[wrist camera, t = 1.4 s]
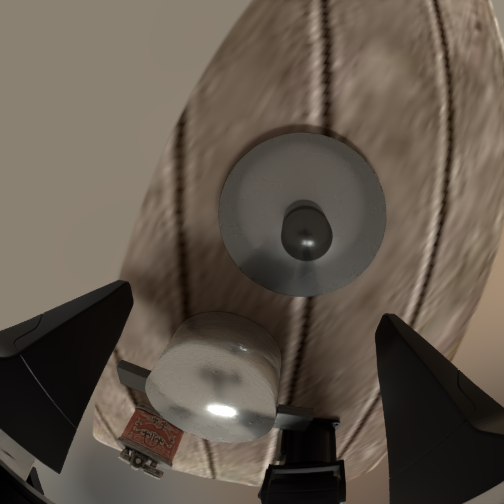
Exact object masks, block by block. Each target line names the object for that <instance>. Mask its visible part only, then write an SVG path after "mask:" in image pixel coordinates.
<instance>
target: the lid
mask: <svg viewBox="0 0 504 504" xmlns="http://www.w3.org/2000/svg"><path fill="white" fill-rule="evenodd" d="M219 225H220V230H221V235H222V238H223V241H224V244H225V246H226V249H227V251H228V253H229V255H230V256H231V258H232V259H233V261H234V262H235V264H236V265H237V266H238V267H239V268H240V269H241V271H242V272H243V273H245V274H246V275H247V276H248V277H249V278H250V279H252V280H253V281H254V282H256V283H257V284H259V285H261V286H263V287H264V288H266V289H269V290H271V291H274V292H276V293H280V294H284V295H289V296H296V297H309V296H317V295H322V294H326V293H329V292H332V291H335V290H337V289H339V288H341V287H343V286H345V285H347V284H348V283H350V282H351V281H353V280H354V279H355V278H357V277H358V276H359V275H360V274H361V273H362V272H363V271H364V270H365V269H366V268H367V267H368V266H369V264H370V263H371V262H372V260H373V259H374V257H375V255H376V253H377V252H378V250H379V248H380V245H381V242H382V240H383V236H384V232H385V226H386V204H385V198H384V194H383V191H382V188H381V185H380V183H379V181H378V178H377V176H376V175H375V173H374V172H373V170H372V168H371V167H370V166H369V164H368V163H367V162H366V161H365V160H364V159H363V157H361V156H360V155H359V154H358V153H357V152H356V151H355V150H353V149H352V148H350V147H349V146H347V145H346V144H344V143H342V142H340V141H338V140H336V139H334V138H331V137H328V136H324V135H320V134H314V133H290V134H284V135H280V136H277V137H274V138H271V139H269V140H266V141H264V142H262V143H261V144H259V145H257V146H256V147H254V148H253V149H252V150H250V151H249V152H248V153H246V154H245V155H244V156H243V157H242V158H241V159H240V161H239V162H238V163H237V164H236V165H235V167H234V168H233V170H232V171H231V172H230V174H229V176H228V178H227V180H226V182H225V185H224V188H223V190H222V194H221V198H220V203H219Z"/></svg>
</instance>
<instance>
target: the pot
mask: <svg viewBox="0 0 504 504" xmlns="http://www.w3.org/2000/svg"><path fill="white" fill-rule="evenodd" d="M280 370H281V353H280V350H279V347H278V345H277V343H276V341H275V340H274V339H273V337H272V336H271V335H270V334H269V333H268V332H267V331H266V330H265V329H264V328H262V327H261V326H260V325H258V324H257V323H255V322H253V321H251V320H249V319H247V318H245V317H242V316H239V315H236V314H232V313H227V312H205V313H200V314H196V315H194V316H192V317H190V318H188V319H186V320H185V321H184V322H183V323H182V324H181V325H180V326H179V327H178V329H177V330H176V332H175V334H174V335H173V337H172V338H171V340H170V342H169V343H168V345H167V347H166V348H165V350H164V352H163V353H162V355H161V356H160V358H159V360H158V361H157V363H156V365H155V366H154V368H153V370H152V371H150V370H147V369H145V368H142V367H139V366H137V365H134V364H132V363H129V362H127V361H124V360H121V361H120V363H119V364H118V365H117V371H118V375H119V379H120V382H121V384H124V385H126V386H128V387H131V388H133V389H136V390H138V391H141V392H143V393H146V394H147V397H148V399H149V401H150V403H151V404H152V406H153V407H154V408H155V410H156V411H157V412H158V413H159V414H160V415H161V416H162V417H163V418H165V419H166V420H167V421H168V422H170V423H171V424H173V425H174V426H176V427H178V428H179V429H181V430H183V431H185V432H187V433H190V434H192V435H195V436H197V437H201V438H204V439H208V440H212V441H218V442H230V443H235V442H246V441H251V440H254V439H257V438H260V437H262V436H264V435H265V434H266V433H268V432H269V431H270V430H271V429H272V427H273V428H280V429H287V430H295V431H303V432H305V430H306V429H307V427H308V426H309V424H310V423H311V421H312V420H313V418H314V409H311V408H303V407H295V406H288V405H282V404H278V407H277V400H278V391H279V381H280Z"/></svg>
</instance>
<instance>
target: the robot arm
mask: <svg viewBox="0 0 504 504" xmlns="http://www.w3.org/2000/svg"><path fill="white" fill-rule="evenodd" d="M132 307H133V296H132V291H131V286H130V283H129V282H128V281H123V280H117V281H115V282H113V283H110V284H108V285H106V286H104V287H101V288H99V289H96V290H94V291H92V292H90V293H87V294H85V295H83V296H81V297H78V298H76V299H74V300H72V301H69V302H67V303H65V304H63V305H60V306H58V307H56V308H54V309H51V310H49V311H47V312H45V313H44V314H40V315H38V316H36V317H34V318H32V319H29V320H27V321H24V322H22V323H19V324H17V325H14V326H12V327H9V328H7V329H4V330H1V331H0V504H55V503H53V502H52V501H51V500H49V499H48V498H46V497H45V496H44V493H43V490H42V487H41V484H40V481H39V478H38V474H37V471H36V468H35V467H33V465H34V463H35V461H36V459H38V460H39V461H40V462H42V463H43V464H45V465H46V466H48V467H49V468H51V469H52V470H54V471H55V472H57V473H58V474H60V473H61V470H62V468H63V465H64V462H65V459H66V456H67V454H68V451H69V448H70V446H71V443H72V441H73V438H74V436H75V433H76V431H77V428H78V426H79V423H80V421H81V418H82V416H83V413H84V411H85V409H86V407H87V405H88V402H89V400H90V398H91V396H92V394H93V391H94V389H95V387H96V385H97V383H98V381H99V379H100V377H101V374H102V372H103V370H104V368H105V366H106V364H107V362H108V360H109V358H110V356H111V354H112V352H113V350H114V348H115V346H116V345H117V343H118V340H119V338H120V336H121V334H122V331H123V329H124V326H125V324H126V321H127V319H128V316H129V314H130V312H131V309H132ZM375 343H376V355H377V370H378V378H379V384H380V391H381V397H382V404H383V411H384V419H385V428H386V438H387V449H388V462H389V478H390V479H389V491H390V504H504V407H502V406H501V405H500V404H499V403H497V402H496V401H495V400H494V399H493V398H491V397H490V396H489V395H488V394H486V393H485V392H484V391H483V390H481V389H480V388H479V387H478V386H476V385H475V384H474V383H473V382H472V381H471V380H470V379H468V378H467V377H466V376H465V375H464V374H463V373H462V372H461V371H460V370H458V369H457V368H456V367H455V366H454V365H453V364H452V363H451V362H450V361H449V360H448V359H447V358H445V357H444V356H443V355H442V354H441V353H440V352H439V351H438V350H436V349H435V348H434V347H433V346H432V345H431V344H430V343H428V342H427V341H426V340H425V339H424V338H423V337H421V336H420V335H419V334H418V333H417V332H416V331H414V330H413V329H412V328H411V327H410V326H409V325H407V324H406V323H405V322H404V321H403V320H401V319H400V318H399V317H398V316H397V315H395V314H389V313H385V314H384V315H383V316H382V318H381V320H380V323H379V325H378V327H377V329H376V332H375ZM339 426H340V421H338V420H325V419H315V418H313V420H312V421H311V423H310V424H309V426H308V427H307V429H306V430H305V432H303V431H295V430H287V429H281V431H280V433H279V435H278V440H277V449H276V457H275V459H276V461H280V462H279V465H274V464H269V467H268V469H266V473H265V478H264V481H263V484H262V487H261V489H260V491H259V493H258V498H259V499H260V500H261V503H262V504H345V501H346V481H345V468H344V459H343V460H339V461H337V457H336V437H335V431H336V430H337V428H338V427H339Z"/></svg>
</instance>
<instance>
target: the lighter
mask: <svg viewBox="0 0 504 504" xmlns="http://www.w3.org/2000/svg"><path fill="white" fill-rule="evenodd" d="M184 434H185V431H183V430H181V429H179V428H178V427H176V426H174V425H173V424H171V423H170V422H168V421H167V420H166V419H165V418H163V417H162V416H161V415H160V414H159V413H158V412H157V411H156V410H155V409H153V408H151V407H149V406H147V405H145V404H142V403H139V404H137V406H136V408H135V412H134V414H133V416H132V417H131V419H130V421H129V423H128V425H127V426H126V428H125V430H124V432H123V433H122V435H121V437H119V438H118V440H117V444H118V445H119V446H121V447H122V448H124V450H123V451H122V452H121V454H120V456H119V459H121V460H123V461H124V462H126V463H128V464H130V467H131V468H132V469H134V470H139V469H140V470H142V471H144V473H145V474H147V475H150V476H152V477H154V478H156V479H161V478H162V475H163V472H162V471H160V470H158V469H156V468H155V467H156V466H160V467H162V468H165V469H171V467H172V465H173V463H172V461H173V459H174V456H175V454H176V451H177V449H178V446H179V443H180V441H181V438H182V436H183V435H184ZM129 452H130V453H131V456H132V457H131V456H130V455H129ZM147 462H150V463H151V464H150V466H149V465H147V464H145V463H147Z"/></svg>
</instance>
